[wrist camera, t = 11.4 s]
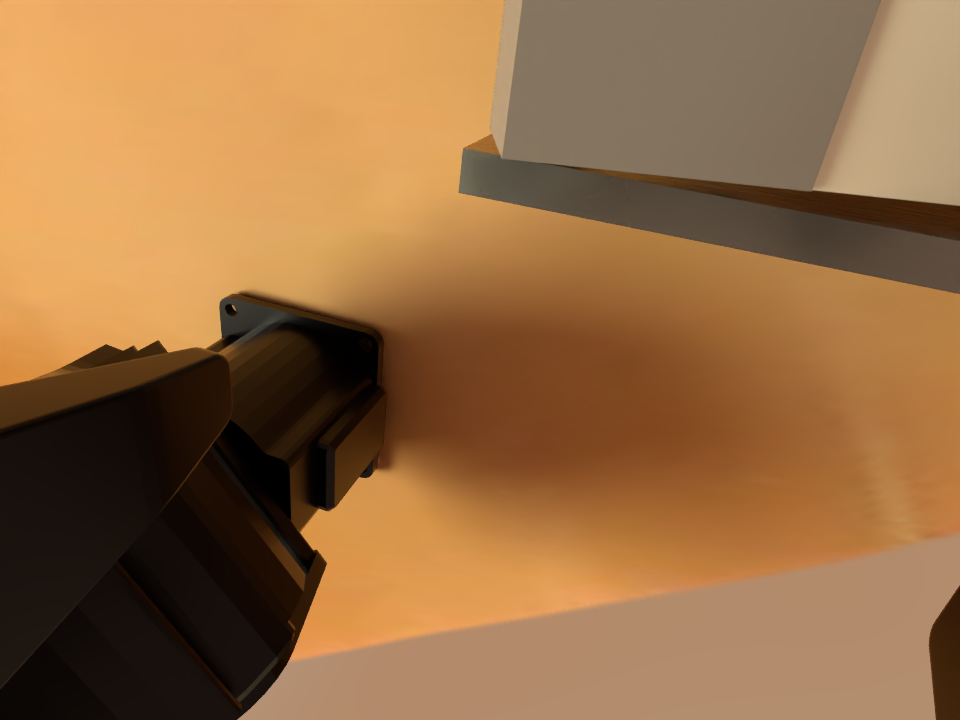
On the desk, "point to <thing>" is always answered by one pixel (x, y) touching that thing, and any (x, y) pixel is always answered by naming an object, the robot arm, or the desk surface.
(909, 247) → the flap frame
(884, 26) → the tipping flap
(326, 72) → the desk surface
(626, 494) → the desk surface
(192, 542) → the robot arm
